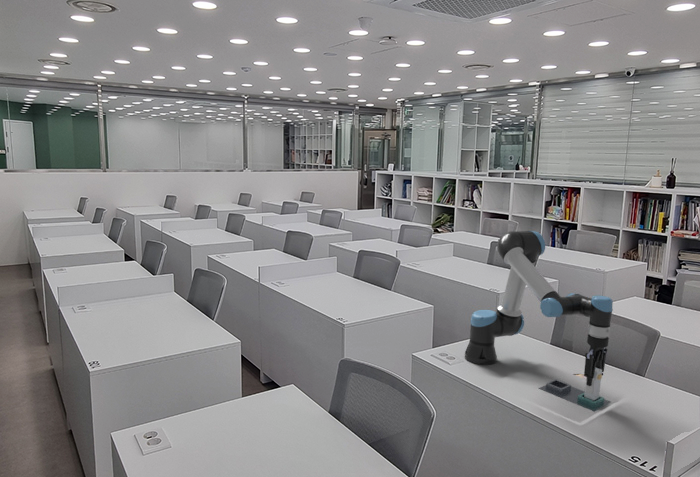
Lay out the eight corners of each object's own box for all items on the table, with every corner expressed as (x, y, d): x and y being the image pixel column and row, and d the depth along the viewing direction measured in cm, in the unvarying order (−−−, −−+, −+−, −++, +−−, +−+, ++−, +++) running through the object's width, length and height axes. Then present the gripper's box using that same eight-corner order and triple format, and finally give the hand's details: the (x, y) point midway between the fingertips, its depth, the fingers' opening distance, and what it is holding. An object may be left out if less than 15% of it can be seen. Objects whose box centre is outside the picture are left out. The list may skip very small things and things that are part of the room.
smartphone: (588, 391, 220) (567, 376, 235) (603, 390, 222) (582, 375, 236) (588, 389, 220) (567, 374, 235) (603, 388, 222) (582, 373, 236)
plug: (584, 396, 207) (587, 368, 205) (589, 394, 210) (592, 366, 208) (595, 401, 204) (598, 372, 202) (600, 398, 206) (603, 370, 204)
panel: (538, 390, 218) (538, 383, 217) (555, 382, 226) (556, 376, 226) (593, 413, 199) (594, 406, 199) (611, 404, 208) (611, 397, 207)
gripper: (597, 342, 195) (590, 400, 198) (618, 334, 205) (611, 389, 209) (578, 336, 201) (572, 393, 204) (599, 328, 211) (593, 382, 215)
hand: (592, 391), depth 206 cm, fingers closed on plug, 4 cm apart
